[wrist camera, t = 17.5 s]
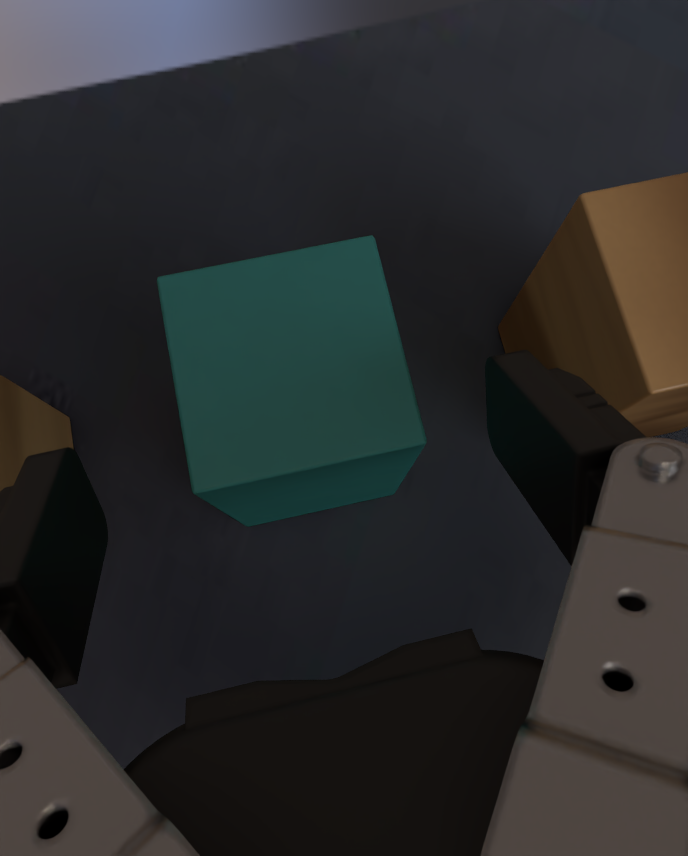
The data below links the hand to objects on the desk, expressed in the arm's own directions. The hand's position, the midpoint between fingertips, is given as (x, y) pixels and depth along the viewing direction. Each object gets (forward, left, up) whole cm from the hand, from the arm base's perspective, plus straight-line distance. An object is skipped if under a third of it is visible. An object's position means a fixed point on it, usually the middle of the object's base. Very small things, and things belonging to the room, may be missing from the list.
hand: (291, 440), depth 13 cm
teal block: (0, +2, -9) cm, 9 cm away
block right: (+10, +4, -9) cm, 14 cm away
